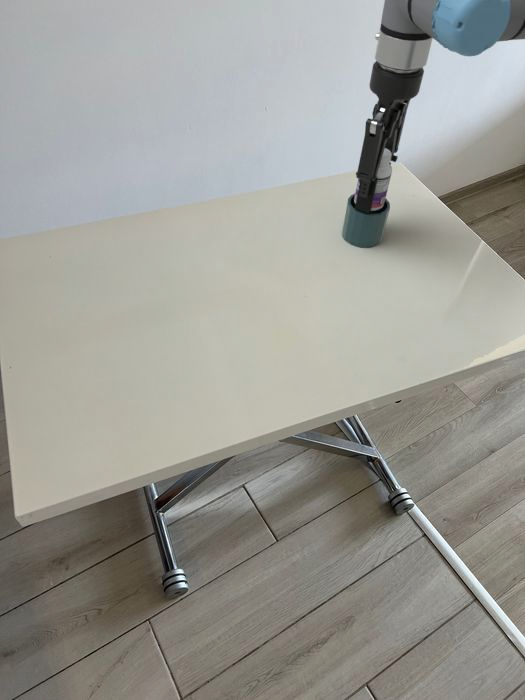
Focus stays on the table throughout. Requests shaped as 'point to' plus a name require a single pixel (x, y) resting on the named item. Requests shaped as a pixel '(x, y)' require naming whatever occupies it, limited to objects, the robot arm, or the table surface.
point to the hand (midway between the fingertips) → (369, 201)
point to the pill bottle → (380, 181)
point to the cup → (364, 224)
